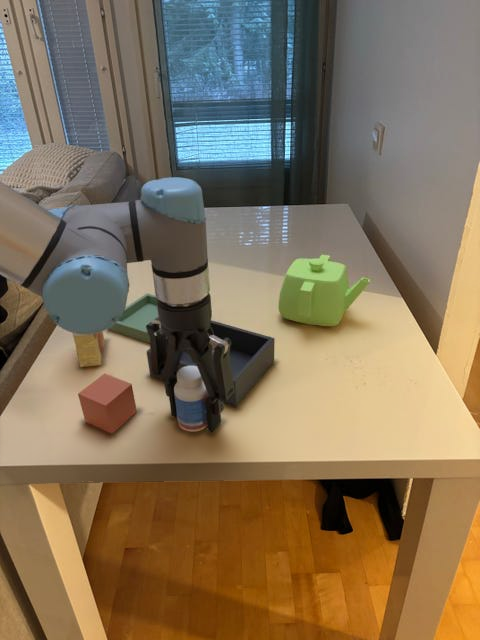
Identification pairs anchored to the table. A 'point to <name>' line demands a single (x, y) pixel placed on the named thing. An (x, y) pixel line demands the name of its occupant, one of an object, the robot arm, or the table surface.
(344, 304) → the teapot
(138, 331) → the medicine tray
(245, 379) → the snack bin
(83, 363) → the candy box
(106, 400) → the block
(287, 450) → the table surface
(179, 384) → the pill bottle
